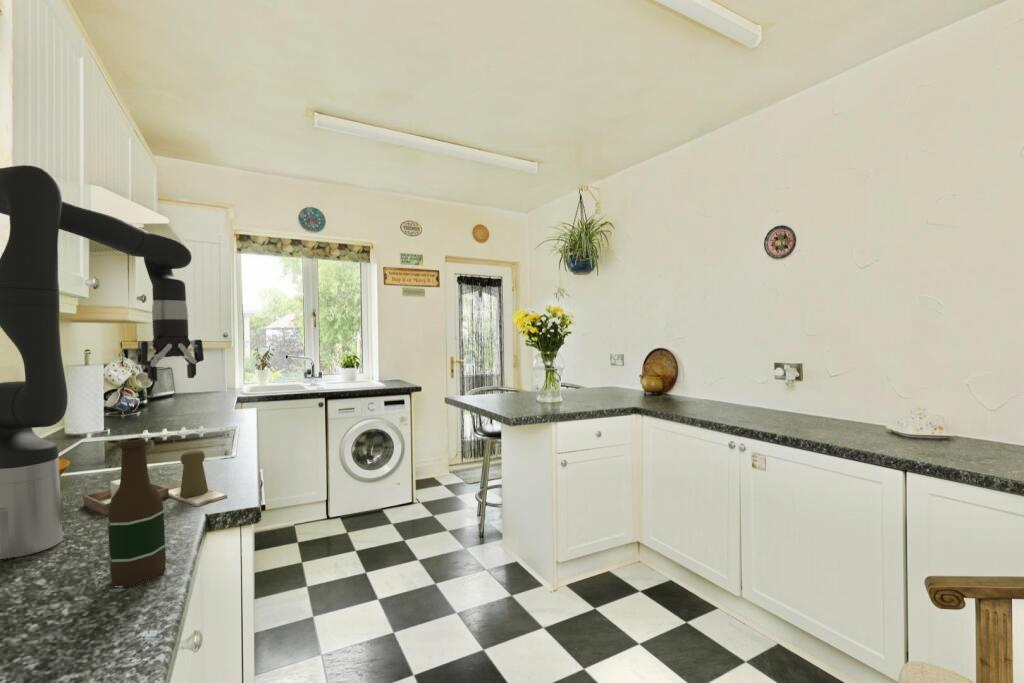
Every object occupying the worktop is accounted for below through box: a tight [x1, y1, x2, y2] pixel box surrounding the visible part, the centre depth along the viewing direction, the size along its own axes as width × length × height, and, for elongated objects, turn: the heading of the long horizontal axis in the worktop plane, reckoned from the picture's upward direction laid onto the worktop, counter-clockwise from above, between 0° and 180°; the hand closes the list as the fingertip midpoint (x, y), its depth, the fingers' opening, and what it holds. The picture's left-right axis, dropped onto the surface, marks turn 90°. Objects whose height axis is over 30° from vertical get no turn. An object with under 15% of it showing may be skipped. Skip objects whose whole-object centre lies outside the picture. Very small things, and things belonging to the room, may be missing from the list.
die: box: [110, 478, 121, 499], centre depth 117 cm, size 5×5×5 cm
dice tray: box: [82, 481, 170, 516], centre depth 117 cm, size 13×13×2 cm
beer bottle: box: [107, 437, 167, 588], centre depth 80 cm, size 8×8×24 cm
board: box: [162, 480, 228, 507], centre depth 122 cm, size 7×24×1 cm, turn 59°
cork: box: [180, 449, 209, 497], centre depth 120 cm, size 6×6×11 cm
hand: (172, 379), depth 122 cm, fingers open, 8 cm apart
